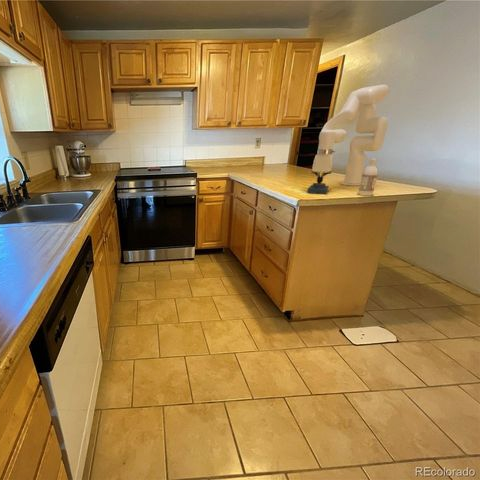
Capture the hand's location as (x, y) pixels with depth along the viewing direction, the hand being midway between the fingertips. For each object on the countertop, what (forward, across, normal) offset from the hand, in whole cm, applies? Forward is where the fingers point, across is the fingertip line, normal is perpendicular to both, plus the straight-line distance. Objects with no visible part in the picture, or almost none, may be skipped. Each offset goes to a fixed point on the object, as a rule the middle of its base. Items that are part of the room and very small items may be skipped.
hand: (319, 183), depth 165 cm
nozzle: (+2, 0, 0) cm, 2 cm away
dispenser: (+5, 0, 0) cm, 5 cm away
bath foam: (+6, -24, -1) cm, 25 cm away
